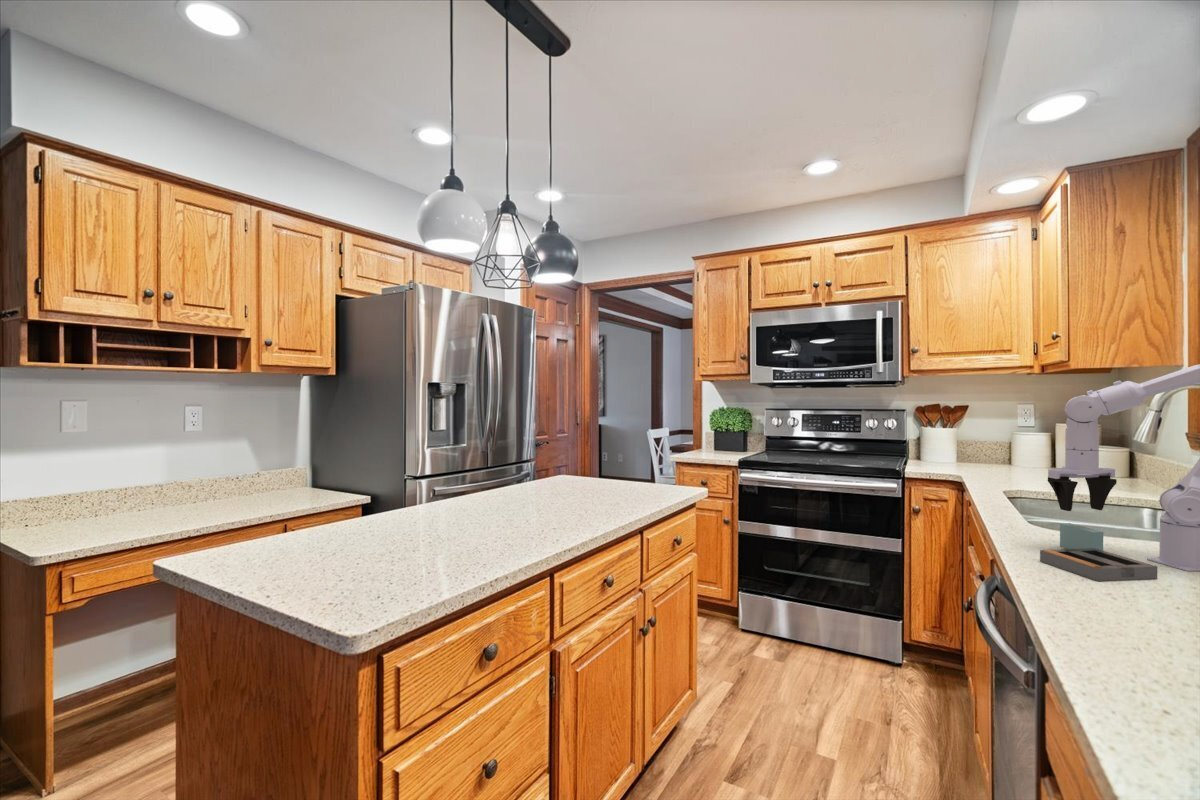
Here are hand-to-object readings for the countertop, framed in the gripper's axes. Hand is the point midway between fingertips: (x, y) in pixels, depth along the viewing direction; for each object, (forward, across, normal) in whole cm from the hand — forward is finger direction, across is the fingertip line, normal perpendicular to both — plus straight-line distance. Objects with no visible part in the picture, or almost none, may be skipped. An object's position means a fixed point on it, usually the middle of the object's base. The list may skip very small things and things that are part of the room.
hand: (1081, 509), depth 127 cm
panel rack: (+9, +9, +12) cm, 18 cm away
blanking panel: (+10, 0, 0) cm, 10 cm away
